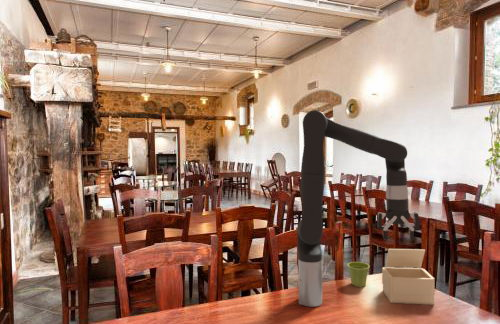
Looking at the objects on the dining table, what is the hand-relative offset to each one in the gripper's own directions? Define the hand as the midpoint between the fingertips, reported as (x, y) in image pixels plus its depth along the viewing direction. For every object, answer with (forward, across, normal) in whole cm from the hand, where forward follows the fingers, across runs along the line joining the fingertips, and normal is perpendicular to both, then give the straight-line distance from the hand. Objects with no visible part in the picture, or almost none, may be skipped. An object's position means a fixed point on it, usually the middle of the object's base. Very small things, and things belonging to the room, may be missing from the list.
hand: (398, 240), depth 129 cm
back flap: (+16, +5, +18) cm, 24 cm away
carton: (+26, +5, +12) cm, 29 cm away
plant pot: (+26, -13, +22) cm, 37 cm away
